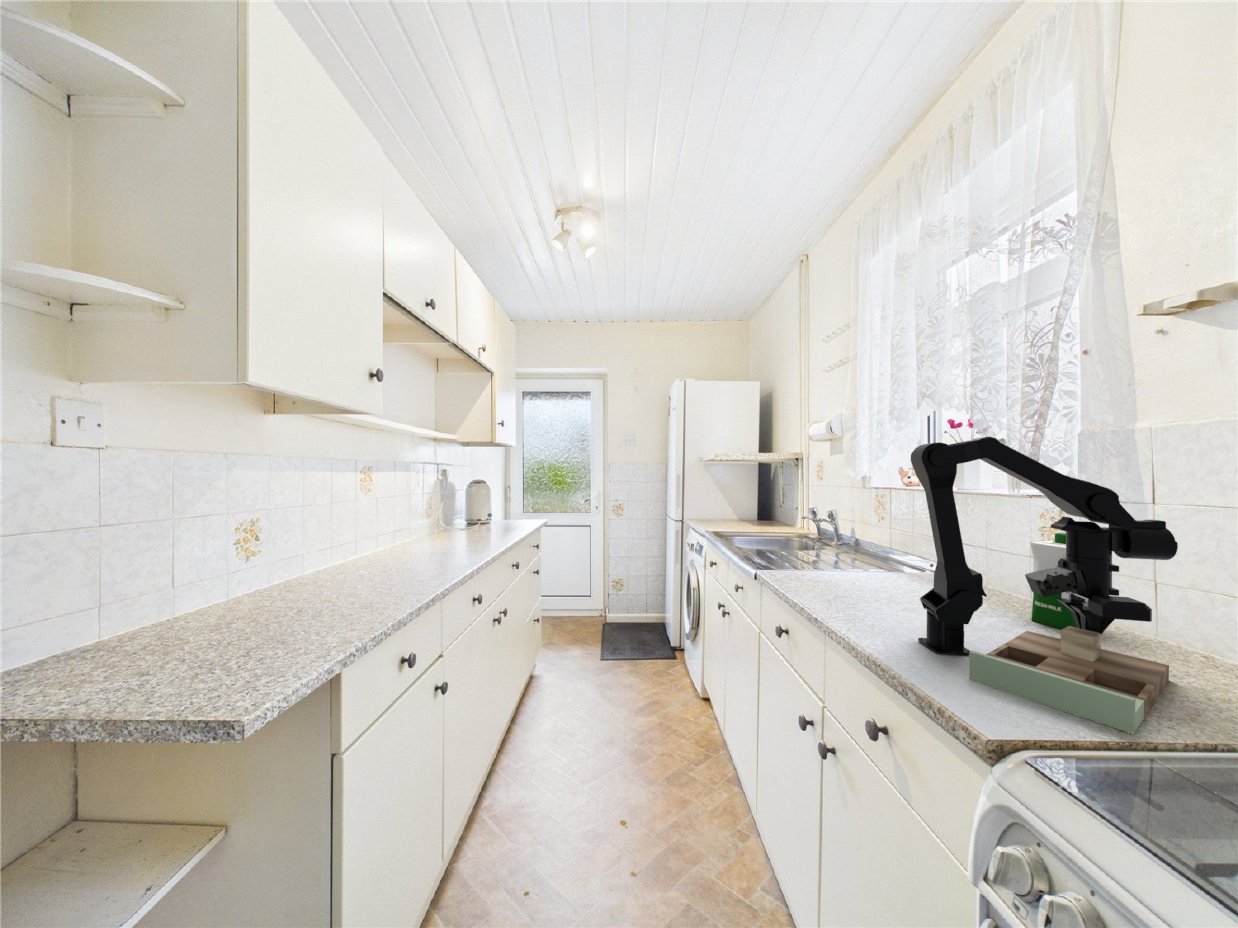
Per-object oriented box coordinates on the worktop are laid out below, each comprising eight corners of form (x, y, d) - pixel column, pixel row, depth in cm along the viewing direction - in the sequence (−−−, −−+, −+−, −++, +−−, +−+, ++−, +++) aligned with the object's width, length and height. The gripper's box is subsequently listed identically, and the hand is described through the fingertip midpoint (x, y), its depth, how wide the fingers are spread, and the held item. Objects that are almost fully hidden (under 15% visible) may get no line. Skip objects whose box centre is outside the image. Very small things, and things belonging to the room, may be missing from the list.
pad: (985, 668, 78) (986, 642, 78) (1143, 718, 63) (1144, 686, 63) (969, 679, 74) (969, 651, 74) (1133, 734, 59) (1133, 700, 59)
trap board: (1026, 643, 90) (1026, 630, 90) (1168, 680, 75) (1168, 665, 75) (985, 668, 78) (985, 654, 78) (1143, 718, 63) (1144, 700, 63)
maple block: (1068, 648, 81) (1069, 625, 81) (1100, 656, 78) (1100, 633, 78) (1060, 652, 79) (1060, 630, 79) (1092, 661, 76) (1092, 637, 76)
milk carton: (1098, 629, 98) (1099, 537, 98) (1071, 633, 95) (1072, 538, 95) (1049, 616, 106) (1050, 531, 106) (1023, 619, 104) (1024, 532, 104)
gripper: (1006, 544, 92) (1006, 621, 92) (1066, 564, 74) (1066, 659, 74) (1074, 547, 89) (1074, 627, 89) (1155, 569, 71) (1154, 669, 71)
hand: (1088, 643), depth 81 cm, fingers closed
